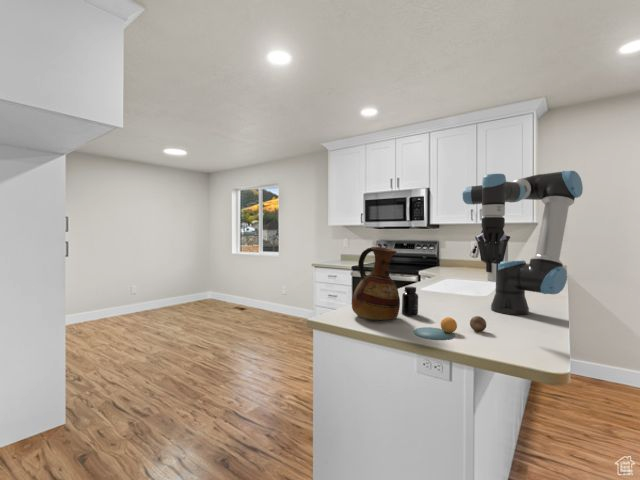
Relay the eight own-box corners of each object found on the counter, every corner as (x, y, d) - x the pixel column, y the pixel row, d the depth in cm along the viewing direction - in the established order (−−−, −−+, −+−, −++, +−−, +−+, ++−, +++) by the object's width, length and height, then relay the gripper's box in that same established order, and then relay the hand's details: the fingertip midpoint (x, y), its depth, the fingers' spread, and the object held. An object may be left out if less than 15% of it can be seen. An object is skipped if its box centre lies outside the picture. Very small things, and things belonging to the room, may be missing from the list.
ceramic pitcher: (391, 327, 128) (392, 248, 127) (343, 320, 137) (344, 246, 136) (405, 315, 145) (406, 246, 144) (361, 310, 154) (362, 245, 154)
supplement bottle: (418, 316, 143) (419, 288, 143) (402, 315, 144) (402, 288, 144) (417, 312, 150) (417, 286, 149) (401, 312, 151) (401, 285, 151)
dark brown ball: (468, 313, 125) (464, 327, 125) (479, 317, 119) (475, 332, 119) (480, 316, 126) (477, 330, 126) (491, 320, 121) (487, 335, 121)
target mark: (440, 327, 128) (440, 326, 128) (462, 338, 114) (462, 338, 114) (406, 328, 125) (406, 328, 125) (424, 341, 112) (424, 340, 112)
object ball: (446, 312, 124) (435, 321, 123) (455, 316, 118) (443, 325, 118) (454, 324, 124) (442, 333, 124) (462, 328, 119) (451, 338, 118)
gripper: (483, 216, 118) (482, 283, 119) (516, 216, 120) (514, 282, 121) (470, 217, 125) (469, 280, 126) (501, 217, 128) (500, 279, 128)
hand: (491, 281), depth 124 cm, fingers closed
